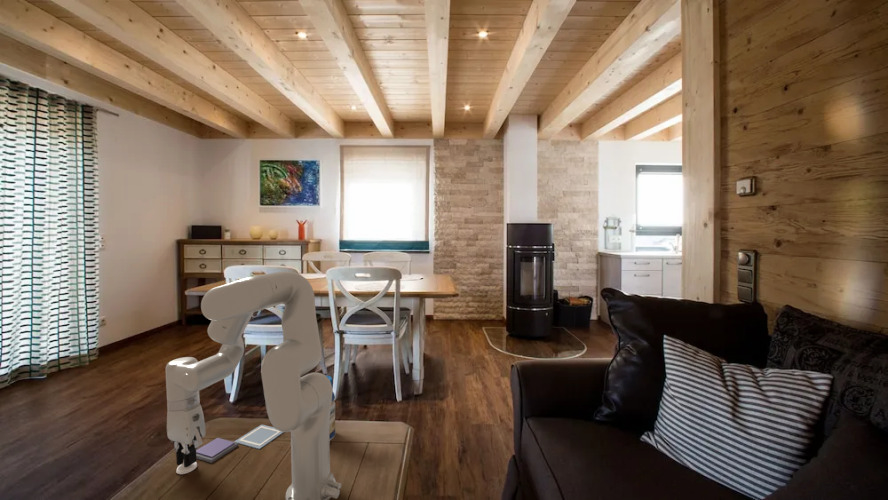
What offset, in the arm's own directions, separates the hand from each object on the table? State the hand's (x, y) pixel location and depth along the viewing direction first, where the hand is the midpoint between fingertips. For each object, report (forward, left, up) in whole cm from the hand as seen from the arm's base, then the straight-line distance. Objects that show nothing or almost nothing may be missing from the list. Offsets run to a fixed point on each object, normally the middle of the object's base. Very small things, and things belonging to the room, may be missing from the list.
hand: (186, 462), depth 102 cm
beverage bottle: (-27, -27, -2) cm, 38 cm away
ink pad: (0, -9, -2) cm, 9 cm away
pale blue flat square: (-7, -20, -2) cm, 21 cm away
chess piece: (0, 0, -2) cm, 2 cm away
